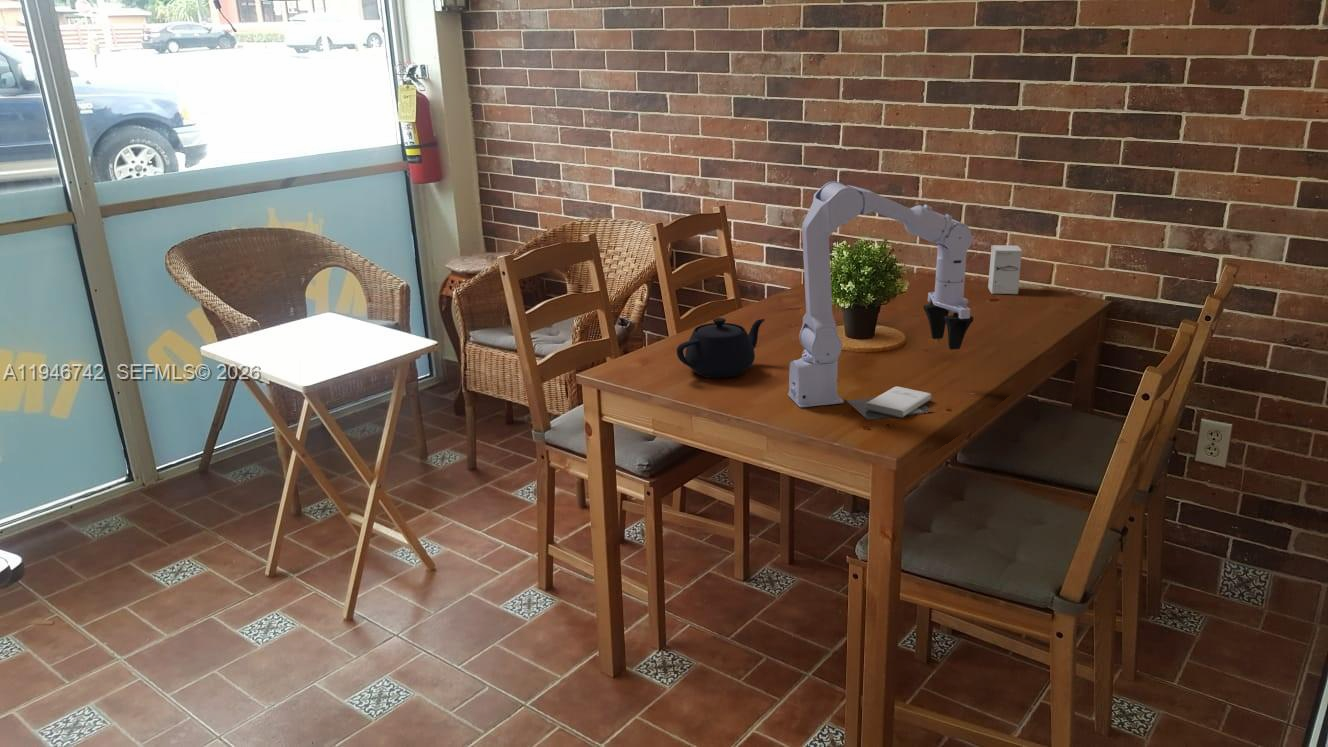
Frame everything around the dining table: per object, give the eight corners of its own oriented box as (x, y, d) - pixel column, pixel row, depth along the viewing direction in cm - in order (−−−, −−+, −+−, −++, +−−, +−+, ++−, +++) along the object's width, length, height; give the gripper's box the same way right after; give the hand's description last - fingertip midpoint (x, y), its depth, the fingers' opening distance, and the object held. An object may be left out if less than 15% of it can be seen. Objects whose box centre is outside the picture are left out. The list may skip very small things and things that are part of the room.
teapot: (700, 391, 218) (699, 336, 214) (657, 373, 230) (656, 321, 226) (787, 367, 232) (787, 314, 228) (742, 351, 244) (742, 301, 240)
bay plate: (867, 419, 200) (867, 419, 200) (846, 400, 210) (846, 400, 210) (933, 412, 202) (933, 411, 202) (909, 394, 213) (909, 393, 213)
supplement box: (991, 294, 287) (994, 250, 283) (987, 287, 294) (991, 244, 290) (1018, 294, 285) (1022, 250, 281) (1014, 288, 292) (1018, 244, 288)
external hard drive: (865, 409, 204) (894, 392, 214) (903, 418, 200) (931, 400, 209) (865, 402, 204) (894, 385, 213) (903, 410, 199) (931, 392, 208)
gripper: (986, 286, 202) (981, 351, 206) (951, 270, 215) (947, 332, 220) (953, 288, 200) (948, 355, 205) (920, 272, 214) (916, 335, 218)
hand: (945, 343), depth 212 cm, fingers open, 7 cm apart
